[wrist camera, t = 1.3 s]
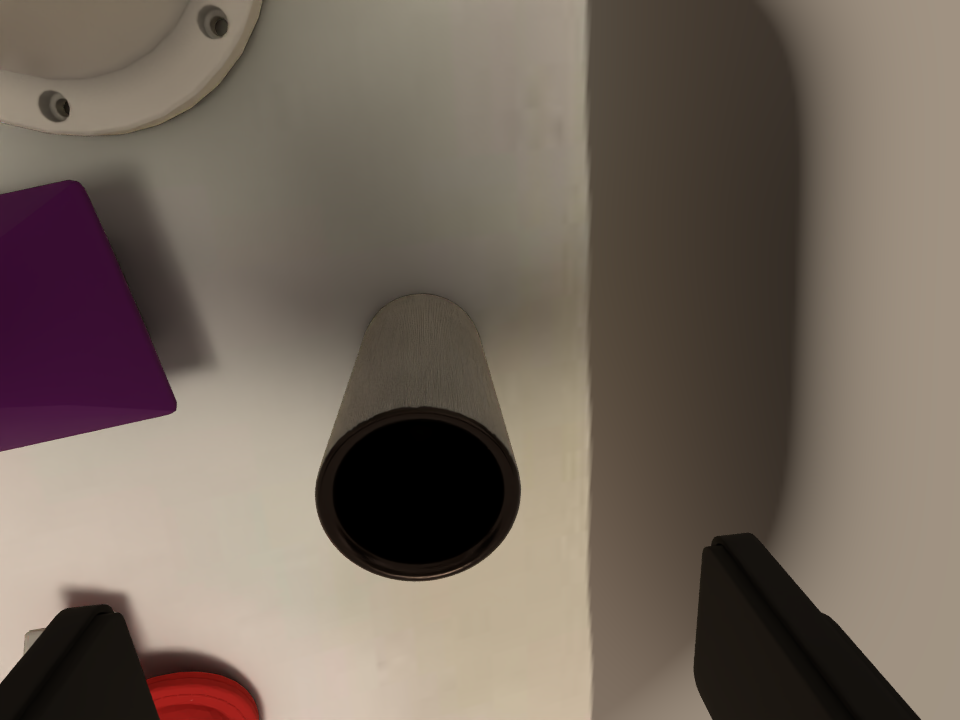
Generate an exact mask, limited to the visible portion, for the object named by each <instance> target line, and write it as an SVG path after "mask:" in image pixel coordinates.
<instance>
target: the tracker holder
mask: <svg viewBox="0 0 960 720" xmlns="http://www.w3.org/2000/svg"><path fill="white" fill-rule="evenodd" d="M45 629H46V628H42V629H36V630H30V631H29V632H28V633H26V634H25V642H24V654H25V653H26V652H27V651H28V649H29V648H30V647H31V646H32V645H33V643H34V642H35V641H36V640H37V638H38V637H39V636H40V635H41V634H42V632H43V631H44V630H45ZM146 682H147V684H148V687H149V690H150V693H151V696H152V698H153V701H154V704H155V707H156V710H157V713H158V715H159V718H160V720H259V713H258V709H257V706H256V703H255V701H254V699H253V698H252V696H251V695H250V693H249V692H248V691H247V690H246V689H245V688H244V687H242V686H241V685H240V684H239V683H237V682H236V681H233V680H231V679H229V678H227V677H224V676H221V675H218V674H212V673H205V672H178V673H172V674H166V675H161V676H157V677H153V678H149V679H146Z"/></svg>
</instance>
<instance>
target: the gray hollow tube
mask: <svg viewBox="0 0 960 720" xmlns="http://www.w3.org/2000/svg"><path fill="white" fill-rule="evenodd" d="M520 497H521V484H520V477H519V472H518V468H517V464H516V461H515V457H514V454H513V450H512V447H511V443H510V440H509V436H508V433H507V429H506V426H505V423H504V419H503V416H502V412H501V409H500V405H499V402H498V398H497V395H496V392H495V388H494V385H493V381H492V378H491V374H490V371H489V368H488V364H487V361H486V357H485V354H484V350H483V347H482V343H481V340H480V337H479V334H478V332H477V329H476V327H475V325H474V324H473V322H472V320H471V319H470V317H469V316H468V315H467V314H466V313H465V311H464V310H462V309H461V308H460V307H459V306H457V305H456V304H455V303H453V302H451V301H449V300H447V299H445V298H442V297H439V296H436V295H431V294H413V295H407V296H404V297H401V298H398V299H396V300H394V301H392V302H390V303H389V304H387V305H386V306H385V307H383V308H382V309H381V310H380V311H379V312H378V313H377V314H376V315H375V317H374V318H373V320H372V321H371V323H370V325H369V326H368V328H367V330H366V332H365V335H364V338H363V341H362V344H361V347H360V350H359V353H358V356H357V359H356V362H355V365H354V367H353V370H352V373H351V376H350V379H349V382H348V385H347V388H346V391H345V394H344V397H343V400H342V403H341V406H340V409H339V412H338V415H337V418H336V421H335V424H334V427H333V430H332V433H331V436H330V438H329V441H328V444H327V447H326V450H325V453H324V456H323V459H322V462H321V465H320V468H319V472H318V476H317V480H316V487H315V502H316V509H317V513H318V517H319V520H320V522H321V525H322V527H323V529H324V531H325V533H326V535H327V536H328V538H329V539H330V541H331V542H332V543H333V545H334V546H335V547H336V548H337V549H338V550H339V551H340V552H341V553H342V554H343V555H344V556H345V557H346V558H348V559H349V560H350V561H351V562H353V563H354V564H356V565H358V566H359V567H361V568H363V569H365V570H367V571H369V572H371V573H374V574H376V575H379V576H382V577H386V578H390V579H395V580H402V581H430V580H437V579H442V578H446V577H449V576H453V575H455V574H458V573H461V572H463V571H465V570H467V569H469V568H471V567H473V566H475V565H476V564H478V563H480V562H481V561H482V560H484V559H485V558H486V557H488V556H489V555H490V554H491V553H492V552H493V551H494V550H495V549H496V548H497V547H498V546H499V545H500V544H501V543H502V541H503V540H504V539H505V537H506V536H507V534H508V533H509V531H510V529H511V528H512V526H513V523H514V521H515V519H516V516H517V513H518V509H519V505H520Z"/></svg>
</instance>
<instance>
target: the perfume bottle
mask: <svg viewBox="0 0 960 720" xmlns="http://www.w3.org/2000/svg"><path fill="white" fill-rule="evenodd" d="M176 408H177V402H176V399H175V397H174V394H173V392H172V389H171V387H170V385H169V382H168V380H167V377H166V375H165V372H164V370H163V367H162V365H161V363H160V360H159V358H158V355H157V353H156V350H155V348H154V346H153V343H152V341H151V338H150V336H149V334H148V331H147V329H146V327H145V324H144V322H143V320H142V317H141V315H140V313H139V310H138V308H137V306H136V303H135V301H134V299H133V296H132V294H131V292H130V289H129V287H128V285H127V282H126V280H125V278H124V275H123V273H122V271H121V268H120V266H119V264H118V261H117V259H116V257H115V254H114V252H113V250H112V247H111V245H110V243H109V240H108V238H107V236H106V234H105V232H104V229H103V227H102V225H101V223H100V221H99V219H98V216H97V214H96V212H95V210H94V208H93V205H92V203H91V201H90V199H89V197H88V194H87V192H86V190H85V188H84V187H83V186H82V185H81V184H80V183H79V182H77V181H72V180H66V181H61V182H57V183H52V184H47V185H43V186H38V187H33V188H28V189H24V190H19V191H14V192H10V193H5V194H0V452H1V451H5V450H10V449H15V448H19V447H24V446H28V445H33V444H37V443H42V442H46V441H51V440H55V439H60V438H64V437H69V436H74V435H78V434H83V433H87V432H92V431H96V430H101V429H105V428H110V427H114V426H119V425H124V424H128V423H133V422H137V421H142V420H146V419H151V418H155V417H160V416H164V415H169V414H171V413H173V412H174V411H176Z"/></svg>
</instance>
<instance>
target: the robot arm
mask: <svg viewBox="0 0 960 720" xmlns="http://www.w3.org/2000/svg"><path fill="white" fill-rule="evenodd" d="M262 1H263V0H0V121H1V122H3V123H6V124H10V125H14V126H18V127H23V128H27V129H31V130H36V131H40V132H44V133H49V134H61V135H74V136H100V135H119V134H126V133H130V132H134V131H138V130H141V129H145V128H149V127H153V126H156V125H160V124H162V123H164V122H165V121H167V120H169V119H171V118H173V117H175V116H177V115H179V114H181V113H183V112H185V111H187V110H188V109H190V108H192V107H193V106H194V105H195V104H197V103H198V102H199V101H200V100H201V99H203V98H204V97H205V96H206V95H207V94H208V93H210V92H211V91H212V90H213V89H214V88H215V87H217V86H218V85H219V84H220V83H221V81H222V80H223V79H224V77H225V76H226V74H227V73H228V72H229V70H230V69H231V68H232V66H233V65H234V64H235V62H236V61H237V60H238V58H239V57H240V56H241V54H242V53H243V50H244V48H245V46H246V44H247V42H248V39H249V37H250V35H251V33H252V31H253V29H254V26H255V24H256V22H257V20H258V18H259V14H260V9H261V5H262ZM220 19H225V20H226V21H227V24H228V29H227V33H226V34H225V35H223V36H218V35H217V33H216V31H215V24H216V22H217V21H218V20H220ZM66 101H67V102H68V104H69V107H70V112H69V115H68V114H67V113H66V112H65V109H64V103H65V102H66ZM694 677H695V682H696V685H697V688H698V691H699V693H700V696H701V698H702V700H703V702H704V704H705V705H706V708H707V710H708V712H709V714H710V716H711V717H712V719H713V720H921V719H920V718H919V717H918V716H917V715H916V713H915V712H914V711H913V710H912V709H911V708H910V706H909V705H908V704H907V703H906V702H905V701H904V700H903V698H902V697H901V696H900V695H899V694H898V693H897V692H896V691H895V689H894V688H893V687H892V686H891V685H890V684H889V682H888V681H887V680H886V679H885V678H884V677H883V676H882V674H881V673H880V672H879V671H878V670H877V669H876V667H875V666H874V665H873V664H872V663H871V662H870V661H869V660H868V658H867V657H866V656H865V655H864V654H863V653H862V651H861V650H860V649H859V648H858V647H857V646H856V645H855V643H854V642H853V641H852V640H851V639H850V638H849V637H848V635H847V634H846V633H845V632H844V631H843V630H842V629H841V627H840V626H839V625H838V624H837V623H836V622H835V621H834V620H832V618H830V617H829V616H827V615H826V614H823V613H821V612H820V611H819V610H818V609H817V607H816V606H815V605H814V604H813V603H812V601H811V600H810V599H809V598H808V597H807V596H806V594H805V593H804V592H803V591H802V590H801V589H800V587H799V586H798V585H797V584H796V583H795V582H794V580H793V579H792V578H791V577H790V576H789V575H788V574H787V572H786V571H785V570H784V569H783V568H782V567H781V565H780V564H779V563H778V562H777V561H776V560H775V558H774V557H773V556H772V555H771V554H770V552H769V551H768V550H767V549H766V548H765V547H764V546H763V544H762V543H761V542H760V541H759V540H758V539H757V538H756V537H755V536H754V535H753V534H751V533H741V534H733V535H723V536H717V537H714V539H713V541H712V544H711V546H708V547H705V548H704V549H703V553H702V565H701V578H700V592H699V604H698V617H697V630H696V644H695V656H694ZM0 720H160V718H159V715H158V713H157V710H156V707H155V704H154V701H153V698H152V696H151V693H150V690H149V687H148V684H147V682H146V679H145V676H144V673H143V670H142V667H141V665H140V662H139V659H138V656H137V653H136V651H135V648H134V645H133V642H132V639H131V636H130V634H129V631H128V628H127V625H126V622H125V620H124V618H123V616H122V615H121V614H120V613H114V611H113V610H112V608H111V607H110V606H109V605H105V604H101V605H92V606H83V607H74V608H67V609H64V610H62V611H61V612H60V613H59V614H58V615H56V616H55V618H54V619H53V620H52V621H51V623H50V624H49V625H48V626H47V627H46V629H45V630H44V631H43V632H42V634H41V635H40V636H39V637H38V638H37V640H36V641H35V642H34V643H33V645H32V646H31V647H30V648H29V649H28V651H27V652H26V653H25V654H24V656H23V657H22V658H21V659H20V660H19V662H18V663H17V664H16V665H15V667H14V668H13V669H12V670H11V671H10V673H9V674H8V675H7V676H6V678H5V679H4V680H3V681H2V682H1V684H0Z"/></svg>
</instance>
